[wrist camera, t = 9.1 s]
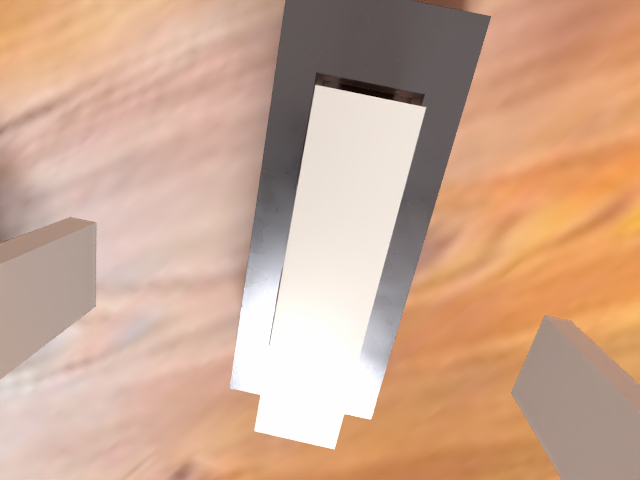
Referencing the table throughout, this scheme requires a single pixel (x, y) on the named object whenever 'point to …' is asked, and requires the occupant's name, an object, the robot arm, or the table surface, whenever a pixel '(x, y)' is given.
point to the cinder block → (289, 141)
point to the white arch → (334, 259)
